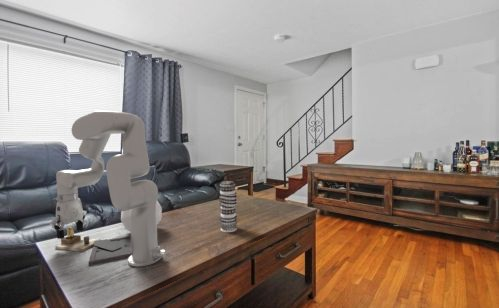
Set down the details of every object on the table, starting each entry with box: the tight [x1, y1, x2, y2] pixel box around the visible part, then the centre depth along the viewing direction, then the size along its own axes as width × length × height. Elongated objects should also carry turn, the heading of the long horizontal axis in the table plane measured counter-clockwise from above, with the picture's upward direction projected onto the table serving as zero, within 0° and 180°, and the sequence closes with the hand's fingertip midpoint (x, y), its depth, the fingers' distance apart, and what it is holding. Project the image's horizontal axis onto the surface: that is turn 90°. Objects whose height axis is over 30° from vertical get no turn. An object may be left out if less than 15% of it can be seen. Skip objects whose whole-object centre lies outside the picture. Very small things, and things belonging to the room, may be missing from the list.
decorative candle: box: [218, 180, 238, 233], centre depth 130 cm, size 9×9×25 cm
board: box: [54, 234, 102, 253], centre depth 114 cm, size 15×10×4 cm
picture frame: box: [88, 235, 132, 266], centre depth 109 cm, size 16×2×21 cm
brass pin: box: [66, 225, 75, 239], centre depth 115 cm, size 2×2×7 cm
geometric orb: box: [120, 200, 163, 232], centre depth 129 cm, size 19×20×20 cm
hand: (70, 234), depth 115 cm, fingers open, 9 cm apart
